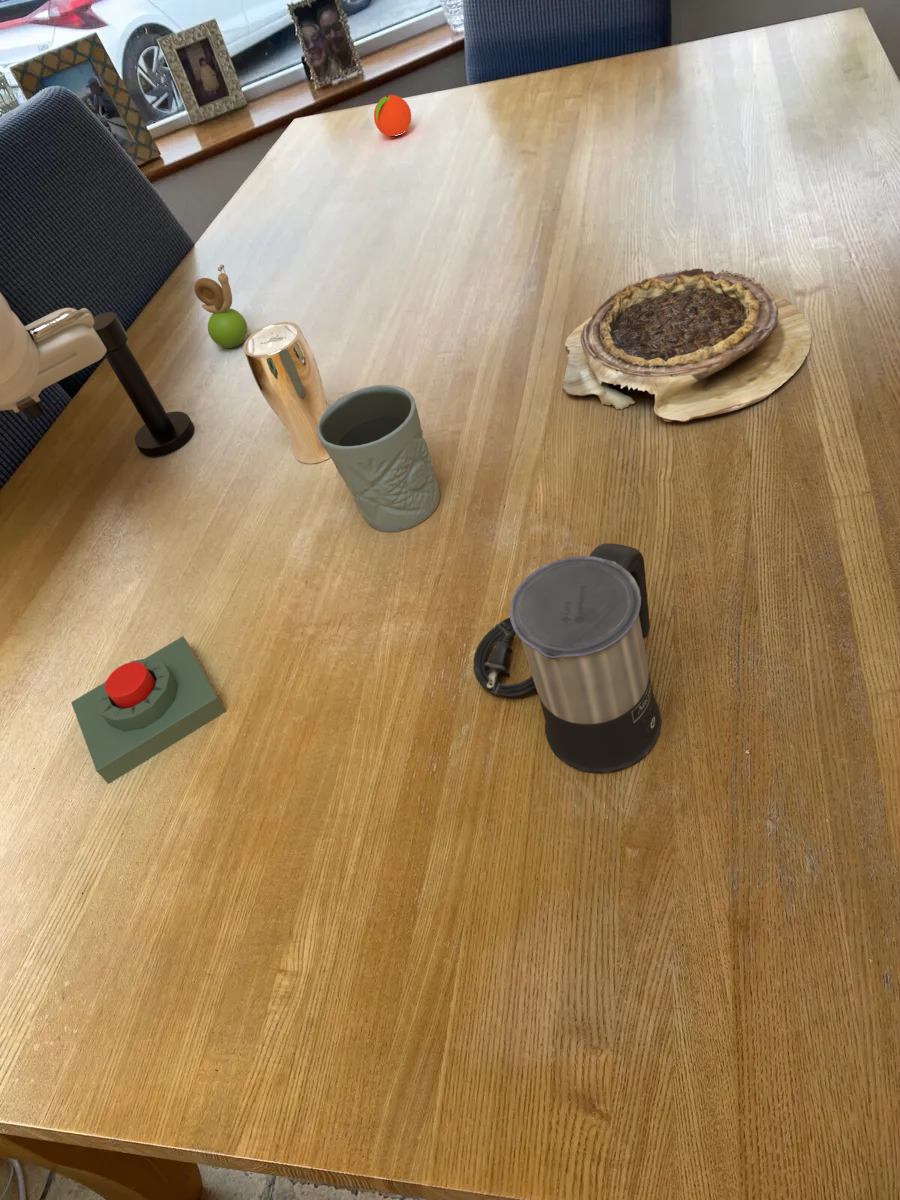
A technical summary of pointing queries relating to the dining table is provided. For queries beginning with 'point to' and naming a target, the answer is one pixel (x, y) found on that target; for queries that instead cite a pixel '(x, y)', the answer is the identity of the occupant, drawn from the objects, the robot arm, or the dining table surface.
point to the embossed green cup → (382, 456)
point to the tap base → (150, 408)
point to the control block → (148, 712)
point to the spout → (111, 338)
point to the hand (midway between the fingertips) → (24, 400)
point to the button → (129, 684)
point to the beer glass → (290, 385)
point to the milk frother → (582, 657)
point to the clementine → (392, 115)
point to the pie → (688, 344)
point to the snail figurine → (221, 311)
